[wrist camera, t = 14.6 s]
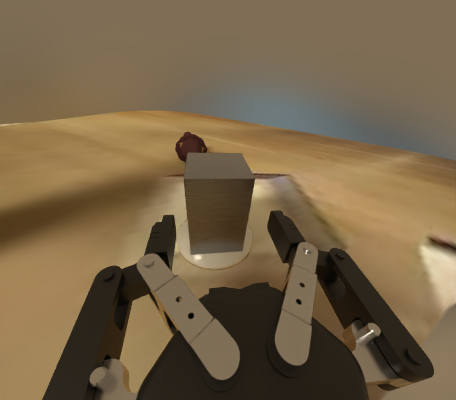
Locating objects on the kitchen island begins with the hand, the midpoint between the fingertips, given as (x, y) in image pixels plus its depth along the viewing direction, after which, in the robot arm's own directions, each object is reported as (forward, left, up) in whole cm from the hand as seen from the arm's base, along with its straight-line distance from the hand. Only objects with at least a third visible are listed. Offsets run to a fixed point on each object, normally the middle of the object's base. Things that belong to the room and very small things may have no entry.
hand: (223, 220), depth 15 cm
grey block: (-4, +4, -7) cm, 9 cm away
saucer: (-4, +4, -8) cm, 10 cm away
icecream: (-25, +19, -8) cm, 33 cm away
